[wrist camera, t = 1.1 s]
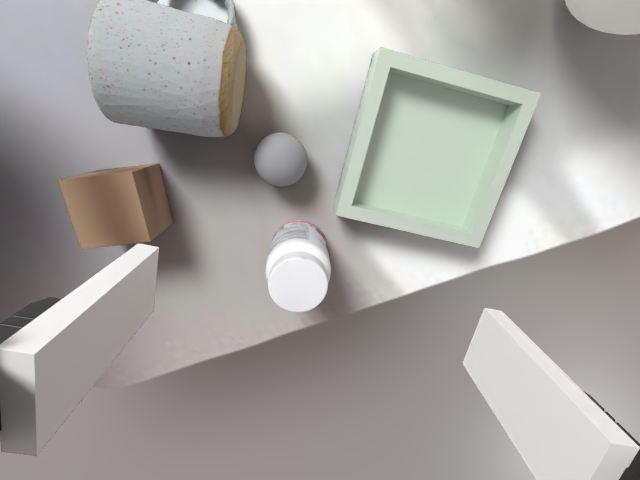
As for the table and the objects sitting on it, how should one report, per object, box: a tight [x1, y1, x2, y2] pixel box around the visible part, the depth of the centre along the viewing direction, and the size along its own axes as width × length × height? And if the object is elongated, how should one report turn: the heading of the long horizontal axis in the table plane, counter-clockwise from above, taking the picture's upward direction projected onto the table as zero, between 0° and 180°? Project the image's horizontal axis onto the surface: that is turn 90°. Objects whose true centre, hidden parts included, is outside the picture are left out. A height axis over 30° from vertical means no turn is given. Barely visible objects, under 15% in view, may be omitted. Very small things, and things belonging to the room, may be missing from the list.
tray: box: [333, 47, 541, 248], centre depth 29 cm, size 12×12×3 cm
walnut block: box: [58, 163, 173, 249], centre depth 28 cm, size 5×5×5 cm
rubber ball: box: [254, 132, 307, 187], centre depth 28 cm, size 4×4×4 cm
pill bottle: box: [266, 220, 331, 312], centre depth 28 cm, size 5×5×8 cm
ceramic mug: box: [87, 0, 246, 137], centre depth 24 cm, size 11×8×8 cm
